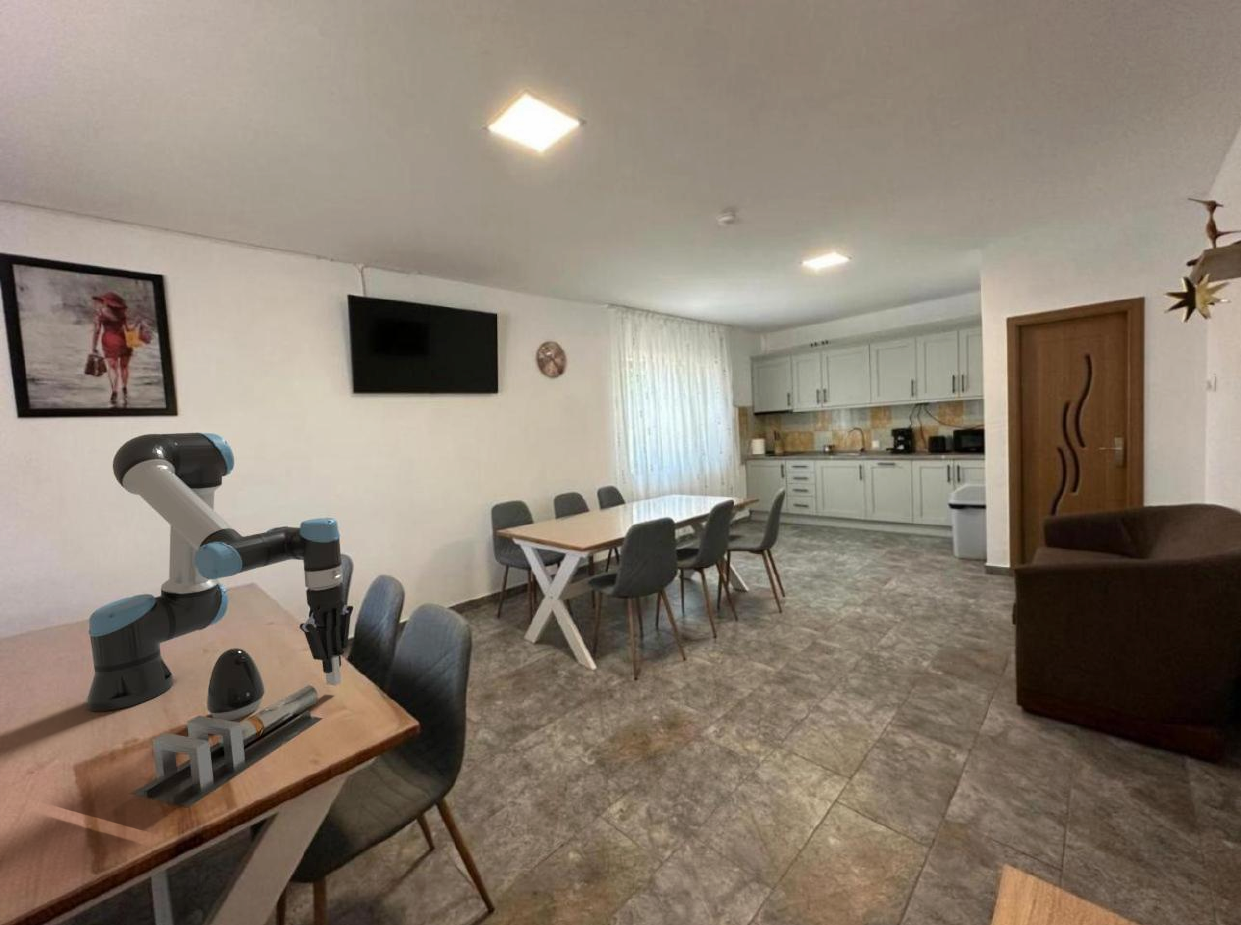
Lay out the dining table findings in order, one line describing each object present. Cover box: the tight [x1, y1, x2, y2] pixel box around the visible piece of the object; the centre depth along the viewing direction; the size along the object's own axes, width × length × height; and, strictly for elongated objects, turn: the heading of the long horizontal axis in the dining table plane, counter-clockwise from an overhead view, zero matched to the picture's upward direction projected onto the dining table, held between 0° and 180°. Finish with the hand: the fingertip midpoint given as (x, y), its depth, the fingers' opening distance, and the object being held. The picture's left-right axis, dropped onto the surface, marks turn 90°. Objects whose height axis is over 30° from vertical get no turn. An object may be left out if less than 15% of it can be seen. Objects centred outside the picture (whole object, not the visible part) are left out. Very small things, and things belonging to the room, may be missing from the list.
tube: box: [218, 684, 319, 751], centre depth 105 cm, size 18×4×4 cm, turn 163°
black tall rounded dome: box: [206, 648, 266, 721], centre depth 111 cm, size 10×10×15 cm
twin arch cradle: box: [130, 710, 324, 808], centre depth 97 cm, size 14×26×9 cm, turn 163°
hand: (333, 683), depth 118 cm, fingers closed
